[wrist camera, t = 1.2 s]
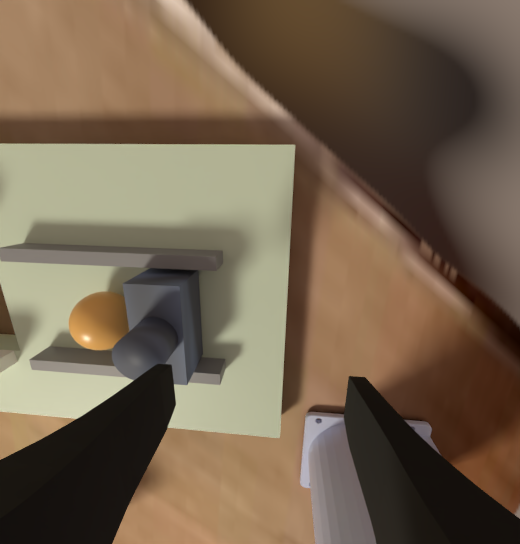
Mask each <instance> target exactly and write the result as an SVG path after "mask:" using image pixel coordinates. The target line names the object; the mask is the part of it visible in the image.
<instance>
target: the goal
mask: <svg viewBox="0 0 520 544" xmlns="http://www.w3.org/2000/svg"><path fill="white" fill-rule="evenodd" d="M15 363H17V359H16V356H15V352H14V351H13V350H0V373H1V372H2V371H4V370H6V369H7V368H9V367H10V366H12V365H14V364H15Z"/></svg>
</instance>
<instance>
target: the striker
mask: <svg viewBox="0 0 520 544" xmlns="http://www.w3.org/2000/svg"><path fill="white" fill-rule="evenodd" d="M123 291H124V297H125V304H126V311H127V318H128V325H129V332H128V333H127V334H126V335H125V336H124V337H122V338H121V339H120V340H119V341H118V342H117V343H116V344H115V345H114V347H113V349H112V360H113V363H114V365H115V367H116V368H117V370H118V371H119V372H120V373H121V374H123V375H124V376H125V377H127V378H129V379H132V380H135V379H137V378H138V377H139V376H141V375H142V374H143V373H145V372H146V371H148V370H149V369H151V368H152V367H153V366H155V365H156V364H171V365H172V371H173V380H174V384H177V385H188V383H189V381H190V379H191V377H192V375H193V373H194V371H195V369H196V367H197V365H198V363H199V361H200V359H201V357H202V355H203V346H202V327H201V309H200V290H199V272H198V270H184V269H161V268H149V269H148V270H146V271H144V272H142V273H141V274H139V275H137V276H135V277H133V278H132V279H130V280H128V281H126V282H124V283H123Z"/></svg>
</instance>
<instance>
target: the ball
mask: <svg viewBox="0 0 520 544" xmlns="http://www.w3.org/2000/svg"><path fill="white" fill-rule="evenodd" d="M68 323H69V331H70V333H71V335H72V337H73V339H74V340H75V341H76V342H77V343H78V344H80V345H81V346H83V347H85V348H87V349H91V350H107V349H111V348H113V347H114V345H115V344H116V343H117V342H118V341H119V340H120V339H121V338H122V337H124V336H125V335H126V334H127V333H128V332H129V325H128V318H127V311H126V304H125V297H124V296H122V295H120V294H118V293H115V292H108V291H103V292H96V293H93V294H90V295H88V296H86V297H84V298H83V299H81V300H80V301H79V302H78V303H77V304H76V305H75V307H74V308H73V309H72V312H71V314H70V317H69V322H68Z"/></svg>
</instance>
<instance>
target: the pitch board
mask: <svg viewBox="0 0 520 544" xmlns="http://www.w3.org/2000/svg"><path fill="white" fill-rule="evenodd" d="M294 161H295V145H251V144H0V284H1V287H2V291H3V294H4V298H5V301H6V304H7V308H8V311H9V315H10V318H11V322H12V325H13V328H14V332H15V335H11V334H0V350H13V351H14V352H15V356H16V359H17V363H15V364H14V365H12V366H10V367H9V368H7V369H6V370H4V371H2V372H1V373H0V411H1V412H12V413H22V414H33V415H43V416H54V417H64V418H74V419H78V418H79V417H81V416H82V415H84V414H85V413H87V412H89V411H90V410H92V409H93V408H95V407H96V406H98V405H99V404H101V403H102V402H104V401H105V400H107V399H108V398H110V397H111V396H113V395H114V394H116V393H117V392H118V391H120V390H121V389H123V388H124V387H125V386H127V385H128V384H130V383H131V382H132V381H134V380H132V379H129V378H127V377H125V376H124V375H123V374H121V373H120V372H119V371H118V370H117V368H116V367H115V365H114V363H113V360H112V349H113V348H111V349H107V350H91V349H87V348H85V347H83V346H81V345H80V344H78V343H77V342H76V341H75V340H74V339H73V337H72V335H71V333H70V331H69V323H68V322H69V317H70V314H71V312H72V309H73V308H74V307H75V305H76V304H77V303H78V302H79V301H80V300H81V299H83V298H84V297H86V296H88V295H90V294H93V293H96V292H103V291H108V292H115V293H118V294H120V295H122V296H124V291H123V283H124V282H126V281H128V280H130V279H132V278H133V277H135V276H137V275H139V274H141V273H142V272H144V271H146V270H148V269H149V268H161V269H184V270H198V272H199V290H200V309H201V327H202V346H203V355H202V357H201V359H200V361H199V363H198V365H197V367H196V369H195V371H194V373H193V375H192V377H191V379H190V381H189V383H188V385H177V384H174V390H175V399H176V406H175V409H174V412H173V414H172V417H171V420H170V422H169V425H168V428H179V429H189V430H200V431H210V432H221V433H231V434H241V435H252V436H262V437H273V438H280V426H281V407H282V388H283V369H284V350H285V332H286V313H287V294H288V275H289V256H290V237H291V218H292V199H293V180H294Z"/></svg>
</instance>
